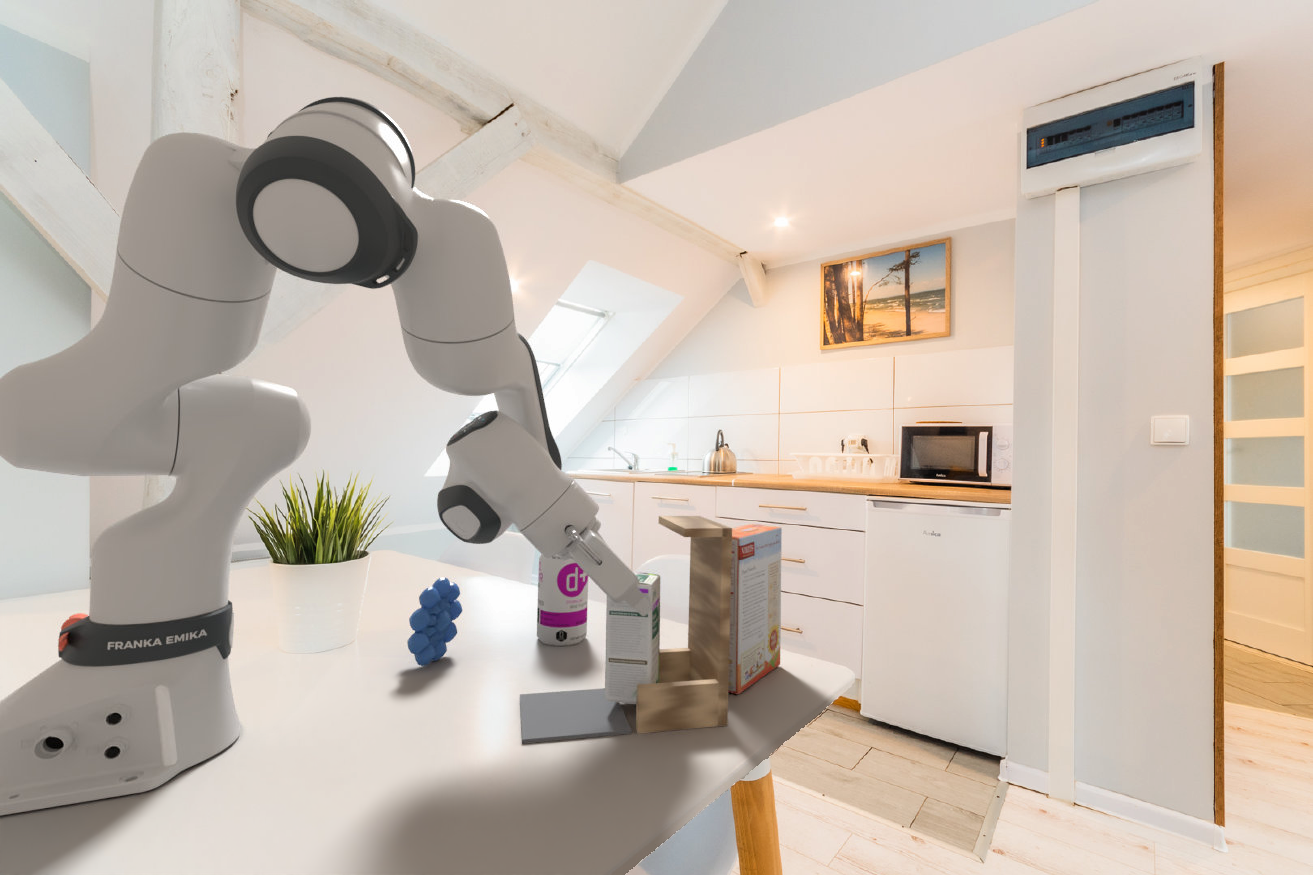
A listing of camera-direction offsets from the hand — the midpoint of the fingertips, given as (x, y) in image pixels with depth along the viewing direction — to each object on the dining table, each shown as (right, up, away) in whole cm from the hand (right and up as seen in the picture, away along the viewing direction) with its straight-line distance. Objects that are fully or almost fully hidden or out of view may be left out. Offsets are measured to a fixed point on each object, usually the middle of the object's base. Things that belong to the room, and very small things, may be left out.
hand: (639, 601), depth 74 cm
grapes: (-31, -13, +14) cm, 37 cm away
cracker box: (+14, -14, +11) cm, 23 cm away
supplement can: (-14, -13, +25) cm, 32 cm away
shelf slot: (+4, -13, +1) cm, 14 cm away
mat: (-8, -13, -2) cm, 15 cm away
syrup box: (-1, -12, 0) cm, 12 cm away
